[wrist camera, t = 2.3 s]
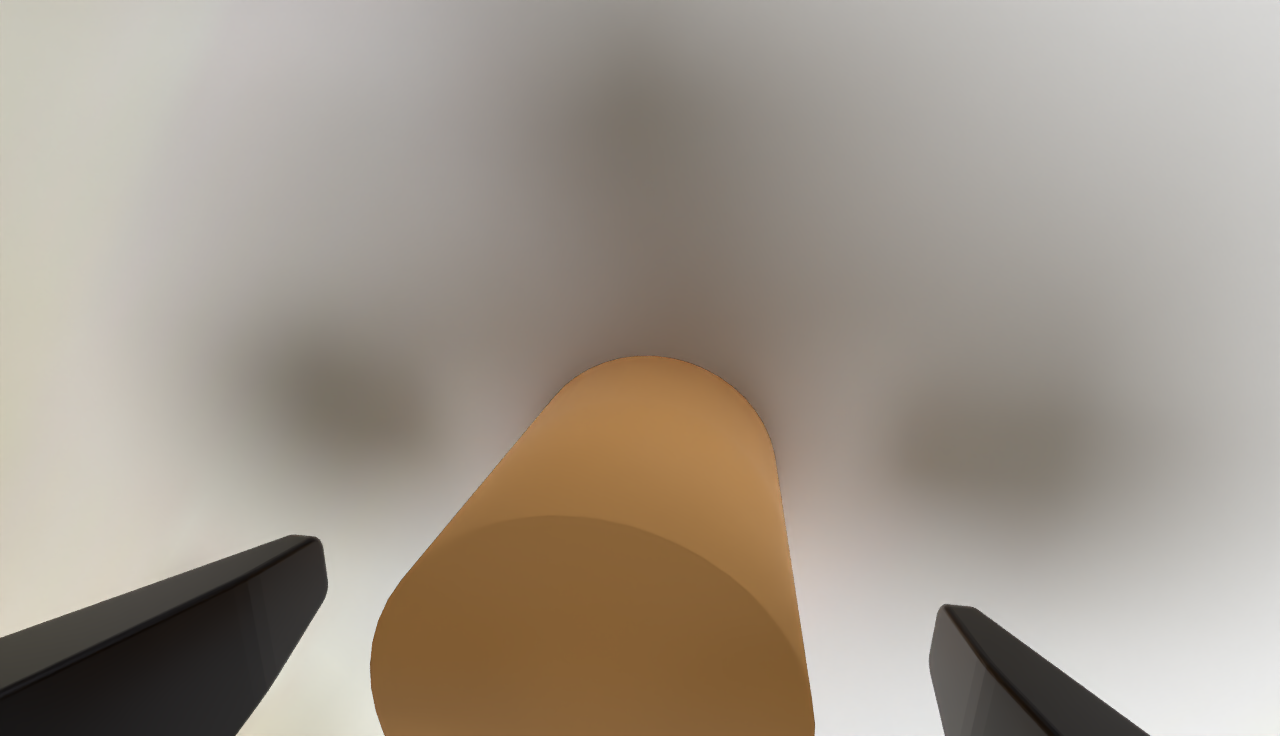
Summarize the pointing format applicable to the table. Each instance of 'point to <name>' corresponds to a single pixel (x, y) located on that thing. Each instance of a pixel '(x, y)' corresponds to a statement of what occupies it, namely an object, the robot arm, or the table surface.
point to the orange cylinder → (608, 577)
